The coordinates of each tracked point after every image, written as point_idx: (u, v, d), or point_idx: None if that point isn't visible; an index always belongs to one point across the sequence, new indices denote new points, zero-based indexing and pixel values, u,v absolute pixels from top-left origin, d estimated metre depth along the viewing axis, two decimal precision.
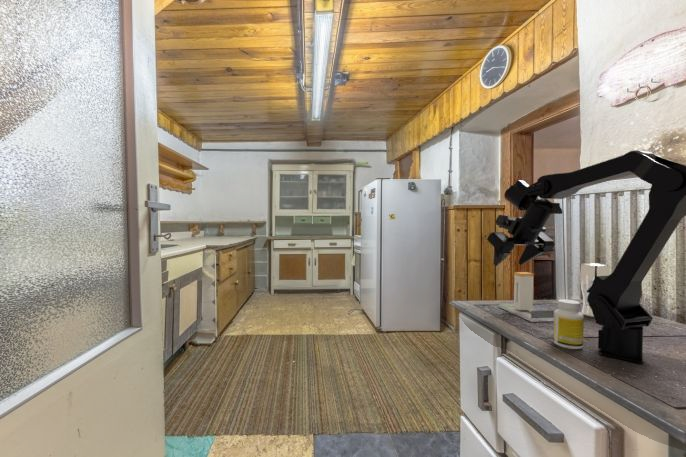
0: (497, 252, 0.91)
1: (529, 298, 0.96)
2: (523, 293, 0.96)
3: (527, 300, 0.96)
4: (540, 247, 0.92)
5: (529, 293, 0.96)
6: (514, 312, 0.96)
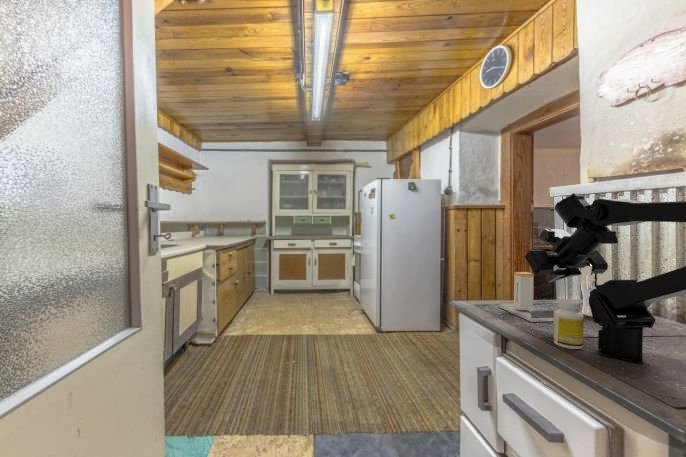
0: None
1: (529, 298, 0.96)
2: (523, 293, 0.96)
3: (527, 300, 0.96)
4: (573, 268, 0.81)
5: (529, 293, 0.96)
6: (514, 312, 0.96)
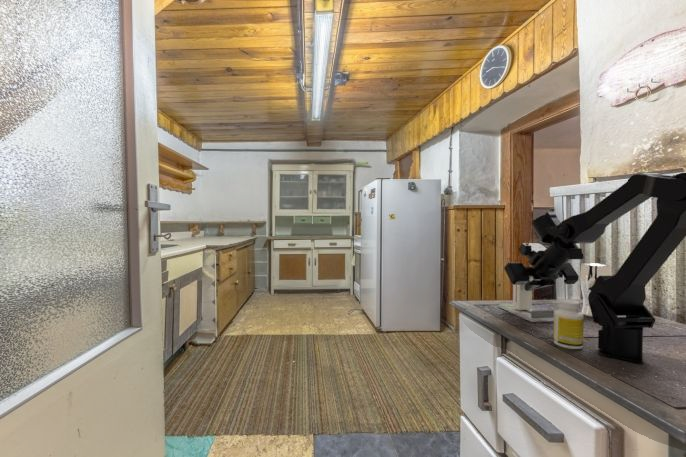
0: None
1: (528, 298, 0.96)
2: (522, 293, 0.96)
3: (526, 300, 0.96)
4: (548, 279, 0.90)
5: (528, 293, 0.96)
6: (514, 312, 0.96)
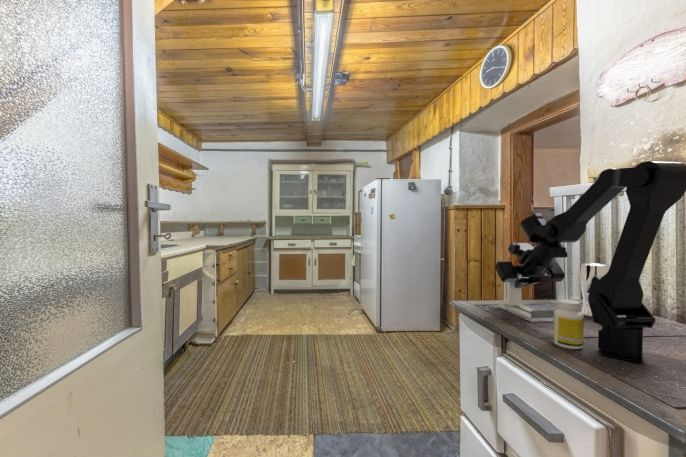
0: None
1: (518, 294, 1.01)
2: (512, 290, 1.01)
3: (516, 296, 1.01)
4: (536, 277, 0.95)
5: (518, 289, 1.01)
6: (514, 312, 0.96)
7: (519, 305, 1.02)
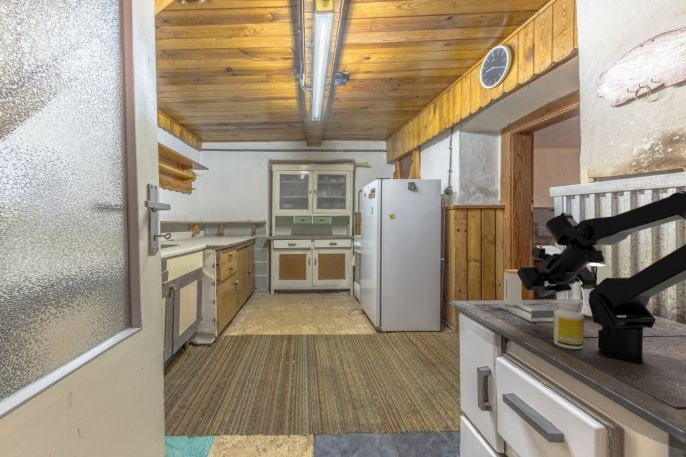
0: None
1: (518, 294, 1.01)
2: (512, 290, 1.01)
3: (516, 296, 1.01)
4: (564, 284, 0.84)
5: (518, 289, 1.01)
6: (514, 312, 0.96)
7: (519, 305, 1.02)
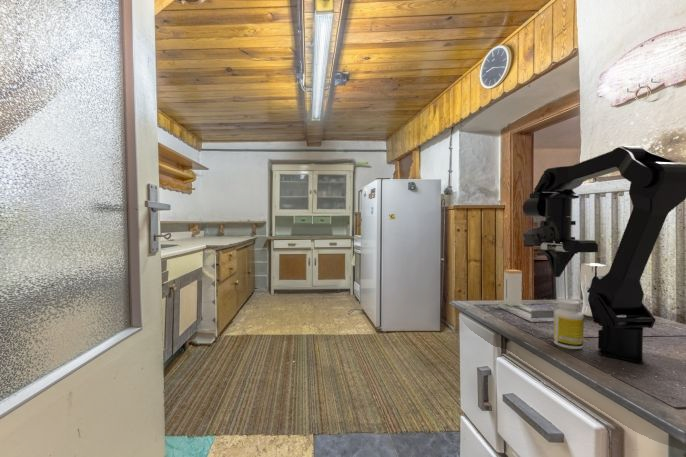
0: (559, 260, 0.83)
1: (518, 294, 1.01)
2: (512, 290, 1.01)
3: (516, 296, 1.01)
4: None
5: (518, 289, 1.01)
6: (514, 312, 0.96)
7: (519, 305, 1.02)
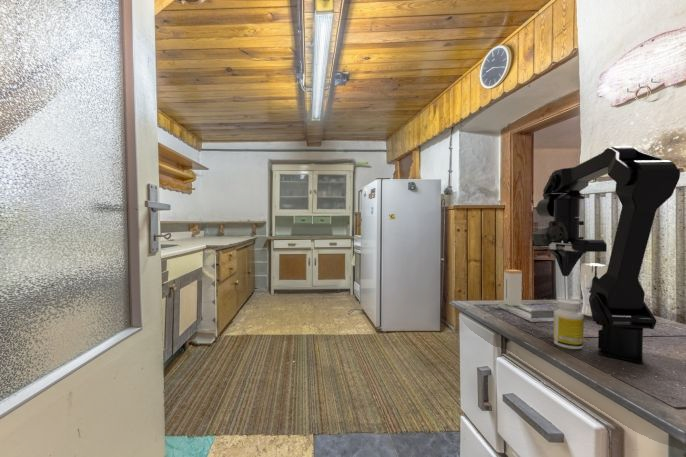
0: (568, 260, 0.85)
1: (518, 294, 1.01)
2: (512, 290, 1.01)
3: (516, 296, 1.01)
4: None
5: (518, 289, 1.01)
6: (514, 312, 0.96)
7: (519, 305, 1.02)
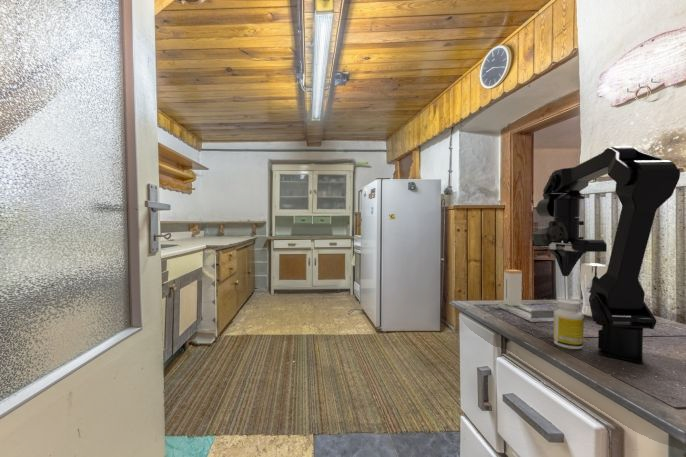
0: (568, 260, 0.85)
1: (518, 294, 1.01)
2: (512, 290, 1.01)
3: (516, 296, 1.01)
4: None
5: (518, 289, 1.01)
6: (514, 312, 0.96)
7: (519, 305, 1.02)
